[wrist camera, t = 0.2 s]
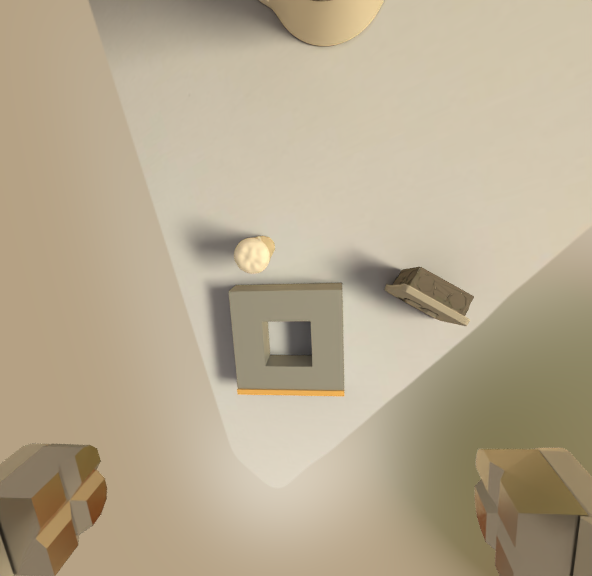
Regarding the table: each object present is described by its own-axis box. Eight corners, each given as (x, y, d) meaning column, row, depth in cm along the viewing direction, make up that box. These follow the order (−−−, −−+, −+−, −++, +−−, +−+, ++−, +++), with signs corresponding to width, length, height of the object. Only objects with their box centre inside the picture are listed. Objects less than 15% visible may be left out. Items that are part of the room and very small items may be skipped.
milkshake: (287, 236, 54) (276, 245, 45) (270, 267, 56) (256, 283, 46) (260, 220, 54) (243, 226, 44) (244, 252, 56) (223, 265, 46)
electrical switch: (382, 288, 55) (394, 301, 45) (401, 257, 54) (417, 264, 44) (438, 319, 55) (461, 339, 46) (457, 289, 54) (485, 302, 45)
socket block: (236, 284, 57) (227, 292, 53) (342, 282, 55) (342, 290, 51) (244, 380, 61) (237, 394, 57) (344, 381, 59) (344, 396, 55)
